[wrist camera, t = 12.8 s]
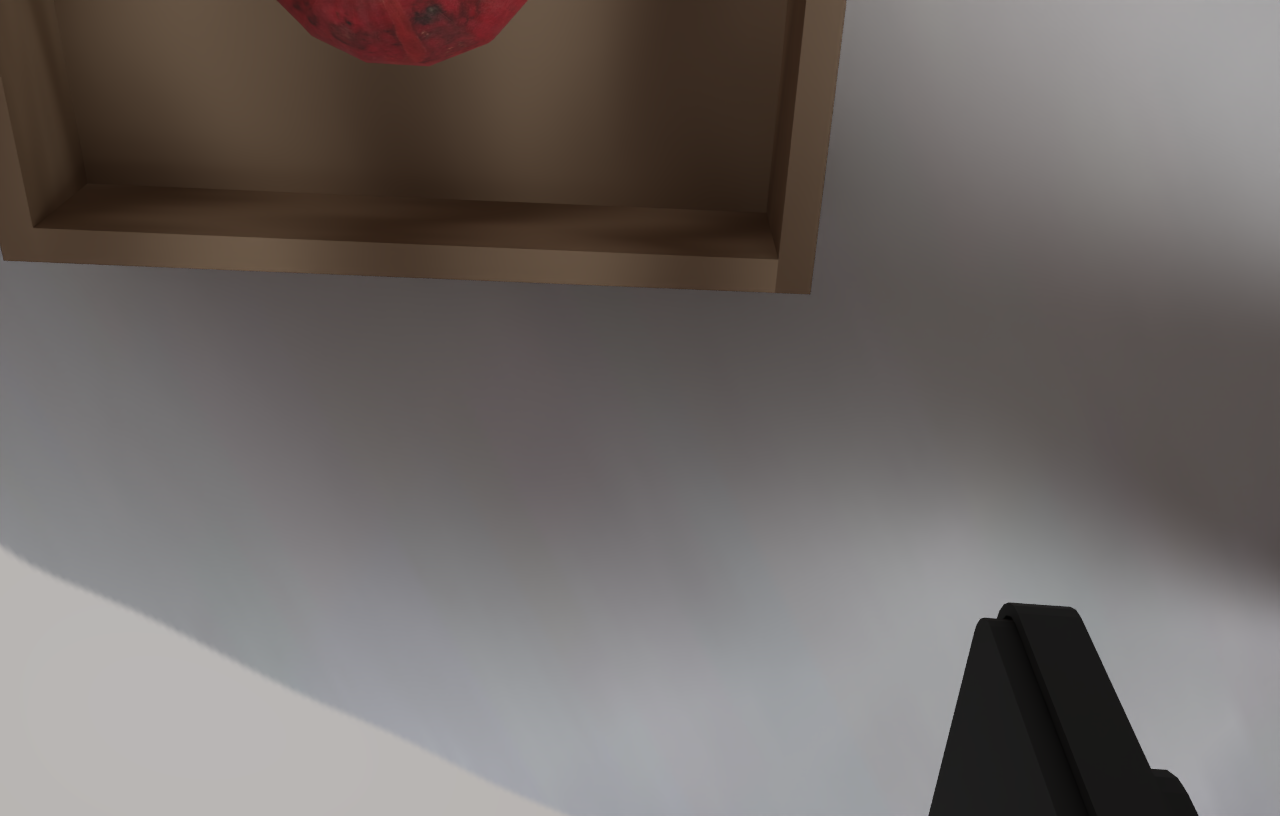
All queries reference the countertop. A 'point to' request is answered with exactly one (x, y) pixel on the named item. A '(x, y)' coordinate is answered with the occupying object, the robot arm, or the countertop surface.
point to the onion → (404, 26)
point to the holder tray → (423, 143)
